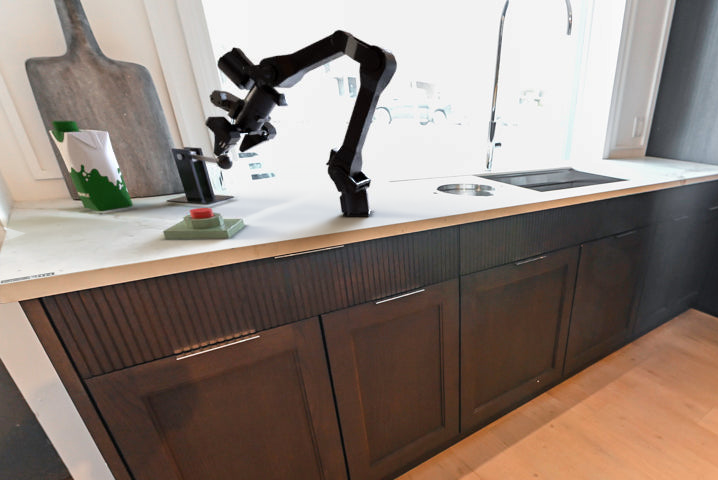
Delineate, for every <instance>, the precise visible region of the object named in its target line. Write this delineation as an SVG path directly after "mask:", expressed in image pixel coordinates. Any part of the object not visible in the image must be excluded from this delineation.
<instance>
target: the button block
mask: <svg viewBox="0 0 718 480" xmlns="http://www.w3.org/2000/svg"><path fill="white" fill-rule="evenodd" d="M213 215H214V217H211V218H205V219H192V217H191V214H187V215H185V216H183V217H182V219H183V220H181V221H179V222H177V223H175V224H173V225H172V226H170V227H168V228H166V229H165V230H163V231H162V234H163V236H164V239H165V240H195V239H196V240H198V239H199V240H200V239H201V240H205V239H206V240H208V239H211V240H212V239H230V238H231V237H233V236H234V235H235V234H236V233H238V232H239V231H240V230H242V229H243V228H244V227H245V225H246V224H245V222H244V218H223V217H224V216H223V215H222V214H221V213H218V212H213Z"/></svg>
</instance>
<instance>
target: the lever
mask: <svg viewBox="0 0 718 480" xmlns="http://www.w3.org/2000/svg"><path fill="white" fill-rule="evenodd" d="M190 153H191V156H192V160H193V162H194V161H198V160H202V161H205V162H208V163H213V164H216V165H217V167H219V168H220V169H221V170H224V171H225V170H226V171H227V170H229V169H232V167H233V165H234V163H233V160H232V157H230V156H228V155H227V154H221V155H220V156H216V157H212V156H207V155H206V156H205V155H203V156H200V155H196V151H191V150H190Z"/></svg>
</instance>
